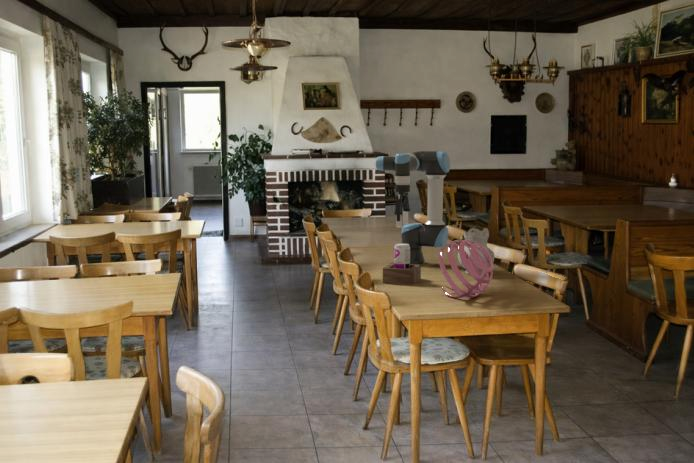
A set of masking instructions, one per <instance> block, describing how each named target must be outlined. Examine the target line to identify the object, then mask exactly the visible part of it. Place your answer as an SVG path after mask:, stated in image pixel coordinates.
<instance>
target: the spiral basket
mask: <svg viewBox="0 0 694 463" xmlns="http://www.w3.org/2000/svg"><path fill="white" fill-rule="evenodd" d="M467 242H470V243H472V245H470V244H469V243H467ZM455 243H459V244H458V245H456V244H455ZM464 246H466V247H468V248H469V249H470V251H471V255H472V258H473V260H474V261H475V263H476V264H477V266H478V267H479V268H480V269H481V270H482V274H481V275H480V273H479V271H478V269H477V267H476V265H475V263H474V262H473V260H472V259H471V257H470V256H469V255H468V254H467V253H466V252H465V251H464ZM445 248H447V258H448V263H449V265H450V268H451V270H452V272H453V273H454V275H455V276H456V278H457V279H458V281H460V282H461V284H462V285H463V286H464V287H466V288H467V289H466V290H465V289H461V288H460V287H459V286H457V284H456V283H455V282H454V280H453V279H452V277H451V276H450V274H449V272H448V270H447V268H446V265H445V262H444V257H443V256H444V250H445ZM476 248H478V249H479V250H480V251H481V252H482V254H483V255H484V257H485V258H486V260H487V262H488V265H489V267H487V263H486V261H485V263H484V261H483V259H482V257H481V256H480V254H479V253H478V252H477V251H476ZM453 250H454V251H456V252H458V253H459V255H460V258H461V261H462V263H463V265H464V267H465V268H466V269H465V268H464V269H465V271H466V270H467V271H468V273H469V274H468V275H470V276H471V277H472V278H473V279H474V280H475V281H476V282H475V283H474V284H472V283H471V282H469V281H468V280H467V279H466V278H465V277H464V274H462V272H461V271H460V269H459V267H458V265H457V262H456V261H455V256H454V253H453ZM438 263H439V267H440V270H441V272H442V274H443V276H444V279H445V280H446V282H447V283H448V285H450V286H448V285H445V288H446V289H448V290H450V291H453V292H456V293H457V294H458V295H453V294H450V293H448V292H447V291H446V289H445V288H444V287H443V286H442V287H441V289H442V292H443V293H444V294H445V295H446V296H448V297H449V298H453V299H462V298H464V299H465V298H467V299H473V298H476V297H478V296H479V295H480V294H481V293H483V292H485V291H486V290H487V288H488V287H489V285H490V283H491V282H492V278H493V276H494V265H493V264H494V262H493V263H492V260H491V257H490V255H489V253H488V252H487V251H486V250H485V248H483V247H482V246H481V245H479V244H477V243H475V242H473V241H471V240H465V239H456V240H453V241H450V243H446V244H445V245H444V246H443V247H440V249H439V252H438ZM489 273H490V274H489ZM474 293H475V294H474ZM471 294H474V295H471Z"/></svg>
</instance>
